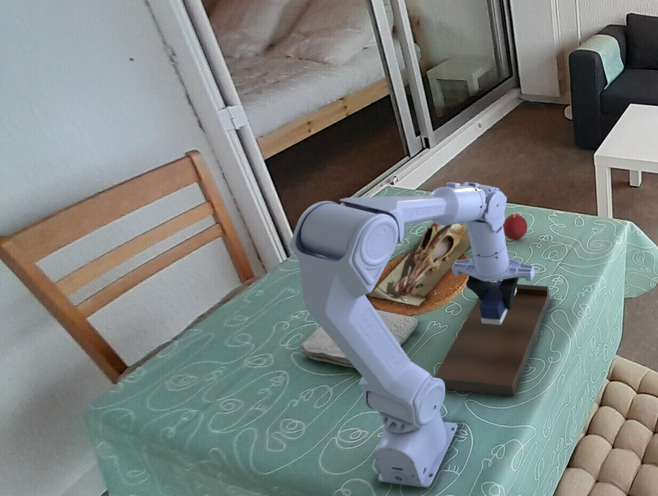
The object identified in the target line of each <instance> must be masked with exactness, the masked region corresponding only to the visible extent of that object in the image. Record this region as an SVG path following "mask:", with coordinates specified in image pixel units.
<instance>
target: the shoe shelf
mask: <svg viewBox="0 0 658 496" xmlns="http://www.w3.org/2000/svg"><path fill="white" fill-rule="evenodd" d="M496 283H497V281H490V285H496ZM516 289H517V292H516V294H515V296H514V304H513V306H512V308H511V310H508V311H507V313H506V315H505V317H504V319H503V321H502V323H501V325H497V324H486V323H482V322H481V318H482V316H481V312H480V307H479V305H480V304H481V300H480V299H479V297H477V299H476V301H475V303H474V305H473V307H472V309H471V310H470V311H469V314H468V316H467V318H466V320H465V321H464V323H463V324H462V326H461V328H460V329H459V332H458V333H457V335H456V337H455V339H454V341H453V342H452V344H451V346H450V348H449V349H448V351H447V353H446V355H445V357H444V358H443V361H442V362H441V363H440V365H439V367H438V369H437V371H436V373H435V375H434V376H433V378H439V379H442V380H443V382H444V384H445V390H451V391H452V390H453V391H461V392H462V391H463V392H471V393H481V394H489V395H490V394H492V395H501V396H510V397H514V396H515V394H516V392H517V390H518V387H519V384H520V381H521V379H522V376H523V374H524V371H525V369H526V366H527V364H528V361H529V358H530V355H531V353H532V350H533V347H534V345H535V342H536V340H537V337H538V335H539V332H540V329H541V327H542V324H543V322H544V319H545V316H546V314H547V311H548V308H549V306H550V304H551V294H550V287H549V286H546V285H545V286H544V285H535V284H521V283H517V286H516Z"/></svg>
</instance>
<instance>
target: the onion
mask: <svg viewBox="0 0 658 496" xmlns="http://www.w3.org/2000/svg"><path fill="white" fill-rule="evenodd" d="M503 229H504V235H505V238H507V239H509V240H512V241H519V240H520V239H522V238H523V237H524V236H525V235H526V234H527V232H528V223H527V221H526V219H525V218H524V217H523V216H522V215H520V214H518V213H515V212H512V213H511V214H509V215H508V216H507V217H505V220H504V224H503Z"/></svg>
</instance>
